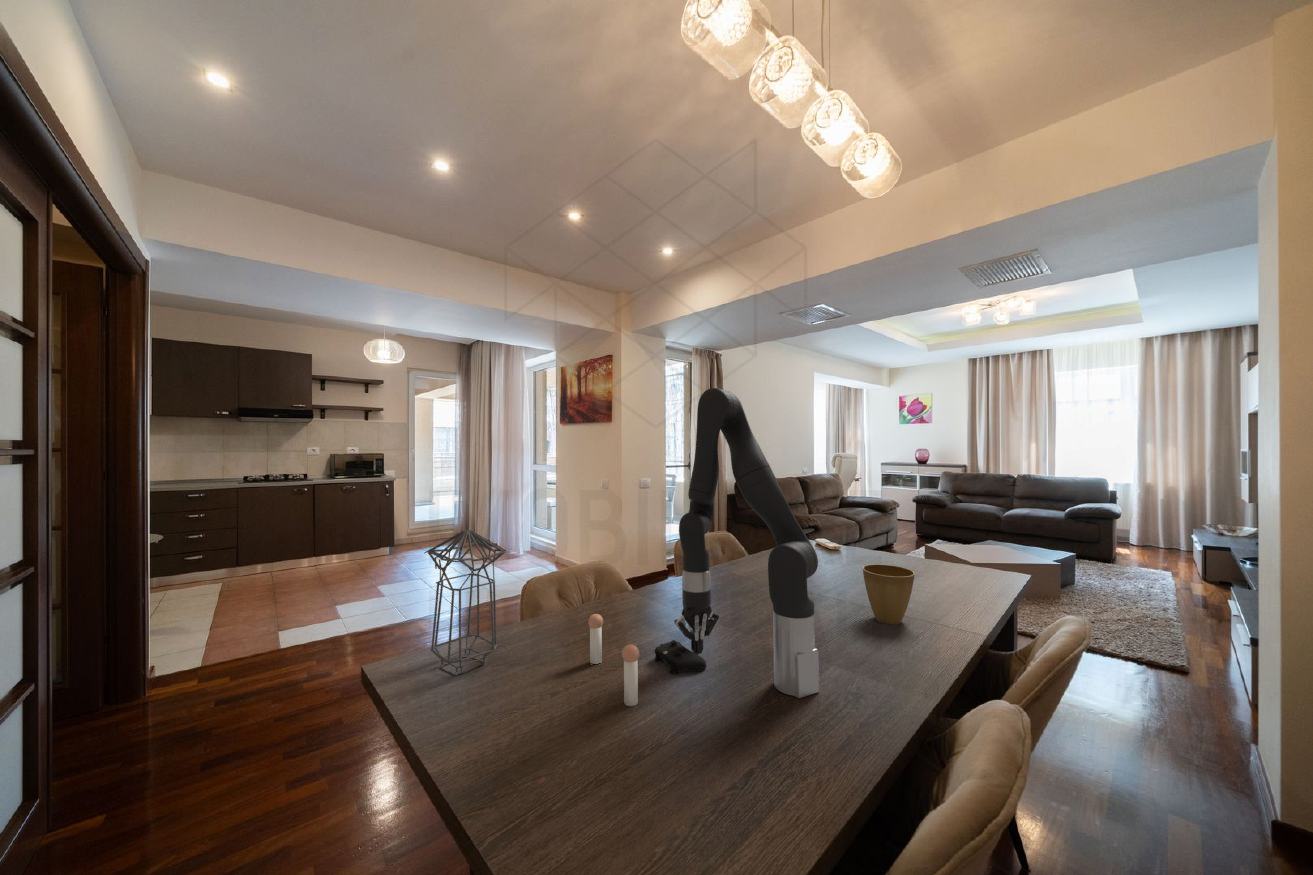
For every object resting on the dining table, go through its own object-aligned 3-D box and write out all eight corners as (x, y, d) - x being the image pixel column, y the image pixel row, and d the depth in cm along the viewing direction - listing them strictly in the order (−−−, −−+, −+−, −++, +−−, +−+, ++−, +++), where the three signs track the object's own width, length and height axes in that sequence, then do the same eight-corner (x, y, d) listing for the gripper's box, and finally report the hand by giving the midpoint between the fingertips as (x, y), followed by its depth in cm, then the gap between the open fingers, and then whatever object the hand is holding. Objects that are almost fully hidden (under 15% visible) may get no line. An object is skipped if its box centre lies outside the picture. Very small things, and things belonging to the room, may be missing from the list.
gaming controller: (711, 652, 119) (677, 653, 114) (707, 677, 118) (673, 679, 114) (681, 633, 131) (649, 633, 127) (678, 656, 131) (646, 657, 126)
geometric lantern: (475, 648, 133) (478, 523, 134) (507, 665, 123) (510, 530, 124) (418, 667, 121) (421, 530, 122) (448, 688, 111) (452, 538, 112)
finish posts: (642, 704, 103) (642, 646, 103) (626, 708, 101) (626, 650, 102) (600, 657, 126) (599, 610, 126) (586, 661, 124) (586, 613, 124)
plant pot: (866, 626, 146) (865, 574, 146) (860, 610, 160) (860, 562, 160) (920, 631, 141) (919, 577, 142) (910, 614, 156) (909, 565, 156)
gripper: (681, 594, 119) (682, 664, 119) (725, 586, 125) (726, 653, 125) (667, 586, 126) (668, 652, 125) (709, 579, 132) (710, 642, 131)
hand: (697, 652), depth 125 cm, fingers closed
